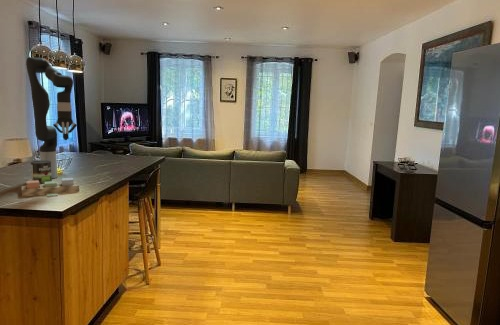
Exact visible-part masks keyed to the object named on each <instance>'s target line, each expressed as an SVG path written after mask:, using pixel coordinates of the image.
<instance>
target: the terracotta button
mask: <svg viewBox="0 0 500 325" xmlns="http://www.w3.org/2000/svg"><path fill="white" fill-rule="evenodd" d="M26 186H27V189H32V188H39V180H35V181H32V180H27V181H26Z"/></svg>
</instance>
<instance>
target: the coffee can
mask: <svg viewBox="0 0 500 325" xmlns="http://www.w3.org/2000/svg"><path fill="white" fill-rule="evenodd" d="M30 166H31V167H30V168H31V171H30V172H31V181H35V180H39V185H41V184H45V182H49V181H53V180H52V179H53V178H51V161H40V160H35V161H34V160H33V161H31V162H30Z"/></svg>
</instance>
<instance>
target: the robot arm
mask: <svg viewBox="0 0 500 325" xmlns="http://www.w3.org/2000/svg"><path fill="white" fill-rule="evenodd" d="M25 64H26V65H25V66H26V70H27V74H28V79H29V84H30V91H31V101H32V106H33V115H34V127H35V128H34V130H35V136H36V138H37V140H39V142H43V144H42V145H40V146H39V161H51V179H56V178H58V162H57V146H58V132H59V133H61V134H62V139H63V140H64V141H68V140H69V134H71V133H72V132H73V131H74V130H75V128H76V127H77V126H78V124H77V123H74V120H73V113H72V112H73V111H72V110H73V108H72V102H71V100H72V99H71V93H72V89H73V85H74V79H73V78H72V77H71V76H70V75H65V74H64V75H63V74H62V73H61V72H60V71H58V70H57V69H55V68H54V67H53V66H52V65H51V64H50V63H49V61H48V60H47V59H46V58H44V57H33V56H32V57H31V56H30V57H27V58H26V61H25ZM37 74H44V76H45V77H46V79H47V80H49V81H51V83H52V84H53V86H54V87H56V88H62V89H64V90H63V91H59V92H57V93H56V103H57V104H56V111H57V112H56V114H57V117H56V118H57V120H56V122H55V123H53V124H52V125H47V116H48V115H47V114H48V113H49V109H50V105H51V103H50V96H49V93H48V91H47V90H46V89H45V88H44V86H43V85H42V84H41V82H40V81H39V79H38V76H37ZM58 126H59V127H60V128H61V129H60V128H59V127H58ZM70 127H71V128H70ZM69 128H70V129H69Z"/></svg>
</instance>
